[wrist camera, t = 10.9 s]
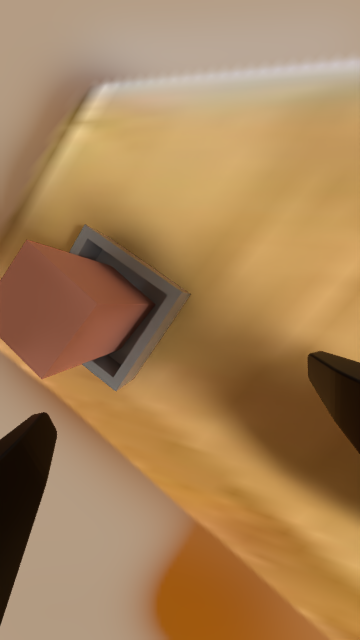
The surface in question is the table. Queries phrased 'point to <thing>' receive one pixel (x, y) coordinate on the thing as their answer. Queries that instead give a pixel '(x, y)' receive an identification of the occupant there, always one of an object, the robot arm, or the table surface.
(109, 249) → the open box
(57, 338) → the red block
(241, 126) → the table surface
